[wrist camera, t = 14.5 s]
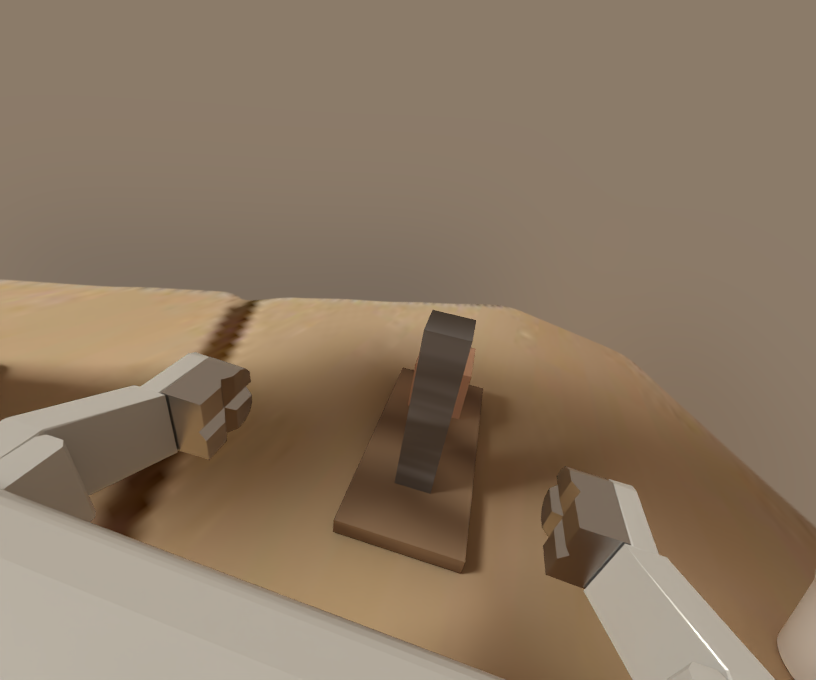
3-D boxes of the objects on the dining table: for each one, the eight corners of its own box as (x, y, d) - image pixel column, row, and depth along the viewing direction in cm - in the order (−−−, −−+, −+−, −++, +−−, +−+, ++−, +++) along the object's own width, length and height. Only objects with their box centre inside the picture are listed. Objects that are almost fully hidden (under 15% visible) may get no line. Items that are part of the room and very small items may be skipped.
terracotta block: (458, 419, 31) (471, 377, 29) (407, 405, 32) (415, 362, 30) (464, 388, 35) (475, 348, 33) (418, 376, 36) (426, 336, 33)
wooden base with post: (460, 573, 22) (531, 402, 15) (333, 531, 23) (345, 353, 16) (479, 398, 36) (520, 270, 30) (401, 377, 37) (423, 249, 31)
